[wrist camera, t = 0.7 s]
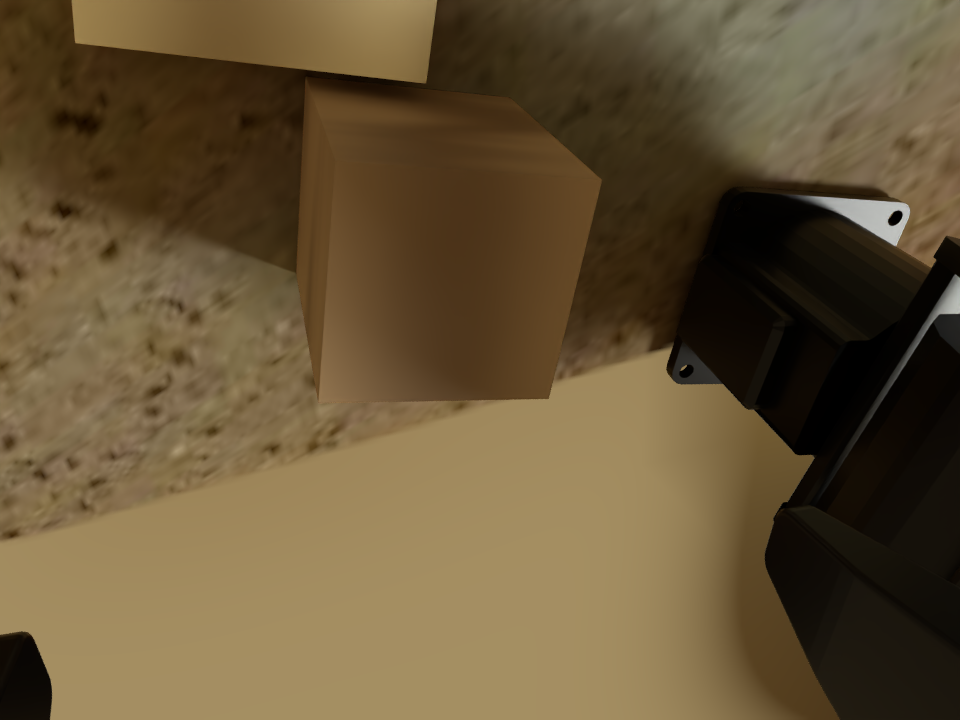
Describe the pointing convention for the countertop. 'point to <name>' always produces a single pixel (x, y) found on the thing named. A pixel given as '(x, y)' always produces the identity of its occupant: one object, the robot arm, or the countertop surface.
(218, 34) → the birch block
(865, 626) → the robot arm
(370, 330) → the walnut cube
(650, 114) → the countertop surface
